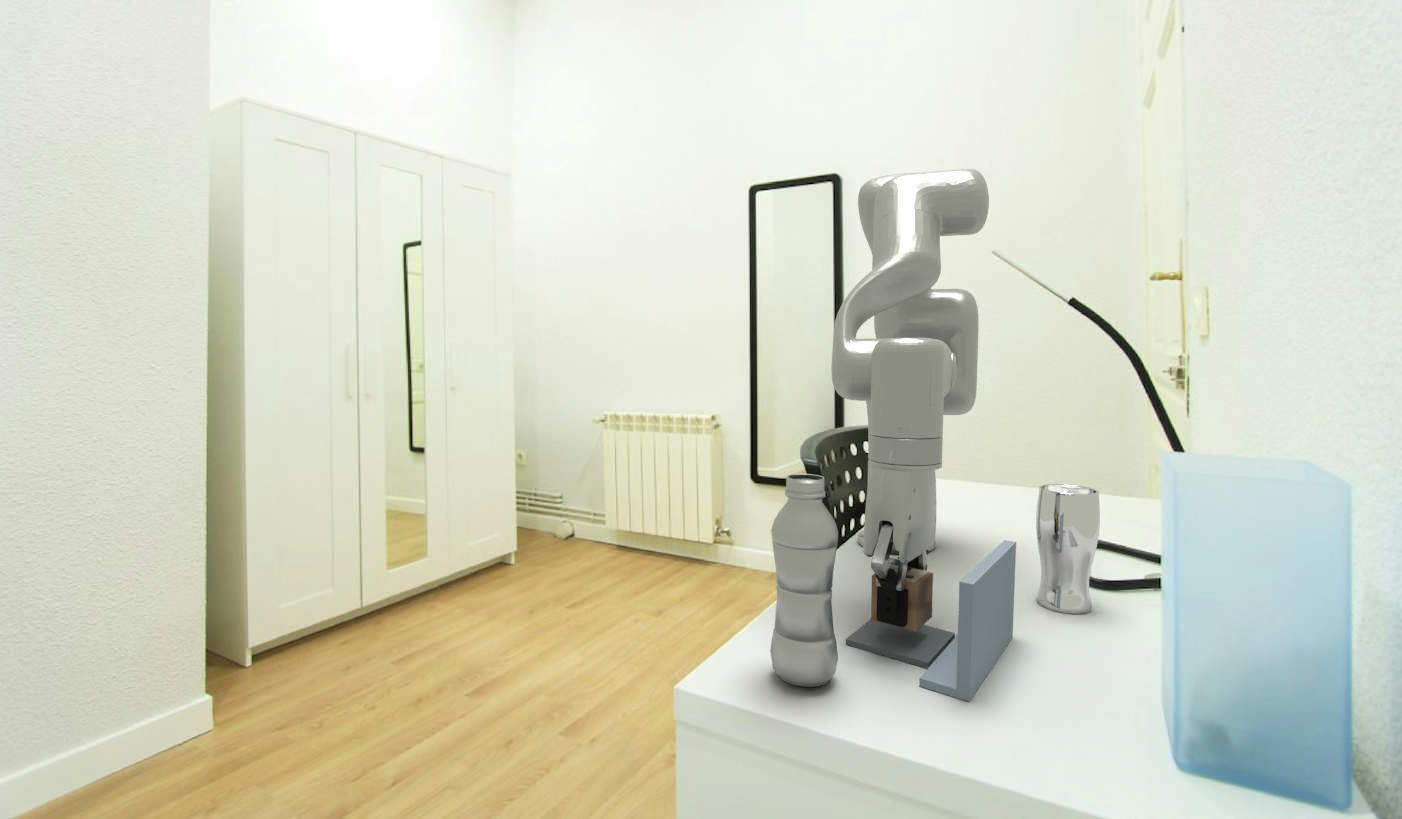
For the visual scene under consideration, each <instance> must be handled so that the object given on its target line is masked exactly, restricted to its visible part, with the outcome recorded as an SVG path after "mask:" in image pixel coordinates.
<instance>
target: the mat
mask: <svg viewBox="0 0 1402 819" xmlns="http://www.w3.org/2000/svg"><path fill="white" fill-rule="evenodd" d="M955 637H956V632H953V631H949V630H945V629H942V628H938V627H933V626H930V625H925V624H924V625H923V626H922V627H921V628H920V629H918V630H917V631H916V632H915V631H912V630H908V629H904V628H900V627H896V626H892V625H889V624H885V623H881V622H877V621H873V620H871V619H869V620H868V621H867V622H865V623H864V624H863V625H861V626H860V627H859V628H857V629H856V631H854V632H852V633H851V635H849V636H847V637H846V638H845V645H846V646H850V647H854V648H856V649H860V650H863V651H867V652H871V653H875V654H876V655H881V656H884V657H887V658H890V659H894V660H897V661H900V662H905V663H908V664H911V665H915V666H918V667H922V668H925V669H928V668H929V667H930V666H931V664H932V663H933V662H934V661H935V660H936V659H937V658H938V656H939V655H940V654H941V653H942V652H943V651H944V650H945V649H946V647H947V646H948V645H949V644H950V643H951V642H952V641H953V639H954V638H955Z"/></svg>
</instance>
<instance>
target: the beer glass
mask: <svg viewBox="0 0 1402 819" xmlns="http://www.w3.org/2000/svg"><path fill="white" fill-rule="evenodd" d="M1038 488H1039V490H1038V495H1037V496H1038V497H1037V504H1036V515H1035V516H1036V517H1035V530H1036V540H1037V548H1038V553H1039V554H1038V555H1039V561H1040V566H1041V568H1040V573H1041V576H1040V582H1039V588H1038V592H1037V594H1036V602H1037V603H1038V604H1039V605H1041V607H1043V608H1046V609H1047V610H1051V611H1054V612H1057V613H1063V614H1068V615H1069V614H1071V615H1084V614H1087V613H1090V612H1091V611H1092V607H1093V606H1092V599H1091V592H1090V575H1091V572H1092V567H1093V563H1094V559H1095V555H1096V551H1097V547H1098V542H1099V538H1100V537H1099V536H1100V526H1101V525H1100V524H1101V511H1100V509H1101V508H1100V507H1101V506H1100V490H1098V489H1095V488H1093V487H1089V486H1083V485H1078V484H1077V485H1075V484H1066V483H1065V484H1064V483H1046V484H1041V485H1039V487H1038Z"/></svg>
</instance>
